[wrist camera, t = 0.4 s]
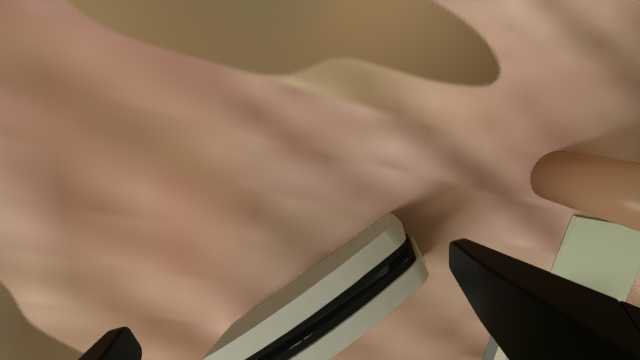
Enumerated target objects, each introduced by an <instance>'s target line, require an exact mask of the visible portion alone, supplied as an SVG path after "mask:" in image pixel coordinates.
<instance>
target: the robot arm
mask: <svg viewBox="0 0 640 360" xmlns="http://www.w3.org/2000/svg"><path fill="white" fill-rule="evenodd" d="M449 267H450V270H451V272H452V274H453V275H454V277H455V279H456V280H457V282H458V284H459V286H460V287H461V289H462V291H463V292H464V294H465V296H466V297H467V299H468V301H469V303H470V304H471V306H472V308H473V309H474V311H475V313H476V314H477V316H478V318H479V319H480V321H481V322H482V324H483V325H484V326H485V328H486V329H487V331H488V332H489V333H490V335H491V336H492V337H493V339H494V340H495V342H496V343H497V344H498V346H499V347H500V348H501V350H502V351H503V353H504V354H505V355H506V357H507V358H508V359H509V360H640V308H639V307H636V306H634V305H631V304H629V303H626V302H624V301H618V299H616V298H613V297H611V296H608V295H606V294H603V293H601V292H598V291H596V290H593V289H591V288H588V287H586V286H583V285H581V284H578V283H576V282H573V281H571V280H568V279H566V278H563V277H561V276H558V275H556V274H553V273H551V272H548V271H546V270H543V269H541V268H538V267H536V266H533V265H531V264H528V263H526V262H523V261H521V260H518V259H516V258H513V257H511V256H508V255H506V254H503V253H501V252H498V251H496V250H493V249H491V248H488V247H486V246H483V245H481V244H478V243H476V242H473V241H471V240H468V239H465V238H462V239H458V240H454V241H452V242H450V244H449ZM141 357H142V349H141V346H140V344H139V343H138V341H137V339H136V338H135V336H134V335H133V333H132V332H131V330H130V329H129V328H128V327H120V328H116V329H112V330H110V331H108V332H107V333H106V334H105V335H103V336H102V337H101V338H100V339H99V340H98V341H97V342H96V343H95V344H94V345H93V346H92V347H91V348H90V349H89V350H88V351H86V352H85V353H84V354H83V355H82V356H81V357H80V358H79V359H78V360H141Z"/></svg>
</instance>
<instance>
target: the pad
mask: <svg viewBox="0 0 640 360" xmlns="http://www.w3.org/2000/svg"><path fill="white" fill-rule="evenodd" d="M639 269H640V232H639V231H636V230H633V229H631V228H628V227H625V226H622V225H619V224H616V223H613V222H608V221H602V220H597V219H591V218H585V217H579V216H574V215H573V216H572V218H571V221H570V224H569V226H568V229H567V231H566V234H565V237H564V239H563V242H562V244H561V247H560V250H559V252H558V255H557V258H556V260H555V263H554V265H553V268H552V271H551V273H553V274H556V275H558V276H561V277H563V278H566V279H568V280H571V281H573V282H576V283H578V284H581V285H583V286H586V287H588V288H591V289H593V290H596V291H598V292H601V293H603V294H606V295H608V296H611V297H613V298H616V299H618V301H624V302H625V300H626V298H627V296H628V293H629V291H630V289H631V287H632V284H633V282H634V280H635V278H636V275H637V273H638V271H639Z"/></svg>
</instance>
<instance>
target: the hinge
mask: <svg viewBox="0 0 640 360" xmlns="http://www.w3.org/2000/svg"><path fill="white" fill-rule="evenodd" d="M424 263H425V261H424V259H423V257H422V255H421V253H420V251H419V249H418V247H417V244H416V242H415V240H414V238H413V236H412V235H411V236H410V237H408V235H407V234H405V232H404V229H403V225H402V221H400V220H399V219H398V218H397V217H396V216H395V215H394V214H392V213H391V212H389V213H388V214H386V215H385V216H384V217H382V218H381V219H379V220H378V221H377V222H375V223H374V224H372V225H371V226H370V227H368V228H367V229H365V230H364V231H363V232H361V233H360V234H358V235H357V236H356V237H354V238H353V239H351V240H350V241H348V242H347V243H346V244H344V245H343V246H341V247H340V248H339V249H337V250H336V251H334V252H333V253H332V254H330V255H329V256H327V257H326V258H325V259H323V260H322V261H320V262H319V263H317V264H316V265H315V266H313V267H312V268H310V269H309V270H308V271H306V272H305V273H303V274H302V275H301V276H299V277H298V278H296V279H295V280H294V281H292V282H291V283H289V284H288V285H287V286H285V287H284V288H282V289H281V290H279V291H278V292H277V293H275V294H274V295H272V296H271V297H270V298H268V299H267V300H265V301H264V302H263V303H261V304H260V305H258V306H257V307H256V308H254V309H253V310H251V311H250V312H248V313H247V314H246V315H244V316H243V317H241V318H240V319H239V320H237V321H236V322H234V323H233V324H232V325H231V326H230V327H229V328H228V329H227V331H226V332H225V333H224V334H223V335H222V336H221V337H220V339H219V340H218V341H217V342H216V343H215V344H214V346H213V347H212V348H211V349H210V350H209V351H208V353H207V354H206V355H205V356H204V357H203V360H329V359H330V358H332V357H333V356H335V355H336V354H337V353H339V352H340V351H342V350H343V349H344V348H346V347H347V346H349V345H350V344H351V343H353V342H354V341H355V340H357V339H358V338H359V337H361V336H362V335H363V334H364V333H366V332H367V331H368V330H370V329H371V328H372V327H373V326H375V325H376V324H377V323H378V322H380V321H381V320H382V319H383V318H385V317H386V316H387V315H388V314H390V313H391V312H392V311H393V310H394V309H395V308H397V307H398V306H399V305H400V304H401V303H402V302H404V301H405V300H406V299H407V298H408V297H409V296H410V295H411V294H413V293H414V292H415V291H416V290H417V289H418V288H419V287H420V286H421V285H422V284H423V283H424V282H425V281H426V280H427V278H428V276H429V274H428V272H427V269H426V267H425V264H424Z"/></svg>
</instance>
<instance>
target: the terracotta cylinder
mask: <svg viewBox="0 0 640 360" xmlns="http://www.w3.org/2000/svg"><path fill="white" fill-rule="evenodd" d="M531 186H532V189H533V191H534V192H535V193H536V194H537V195H538V196H540V197H542V198H544V199H547V200H550V201H553V202H556V203H559V204H562V205H564V206H567V207H570V208H573V209H576V210H579V211H582V212H585V213H587V214H590V215H593V216H596V217H599V218H602V219H605V220H608V221H610V222H613V223H616V224H619V225H622V226H625V227H628V228H631V229H633V230H636V231H639V232H640V163H634V162H627V161H621V160H614V159H607V158H601V157H594V156H588V155H581V154H574V153H568V152H561V151H555V152H551V153H548V154H546V155H545V156H543V157H542V158H541V159H540V160H539V161H538V162H537V163H536V165H535V166H534V168H533V170H532V173H531Z"/></svg>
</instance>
